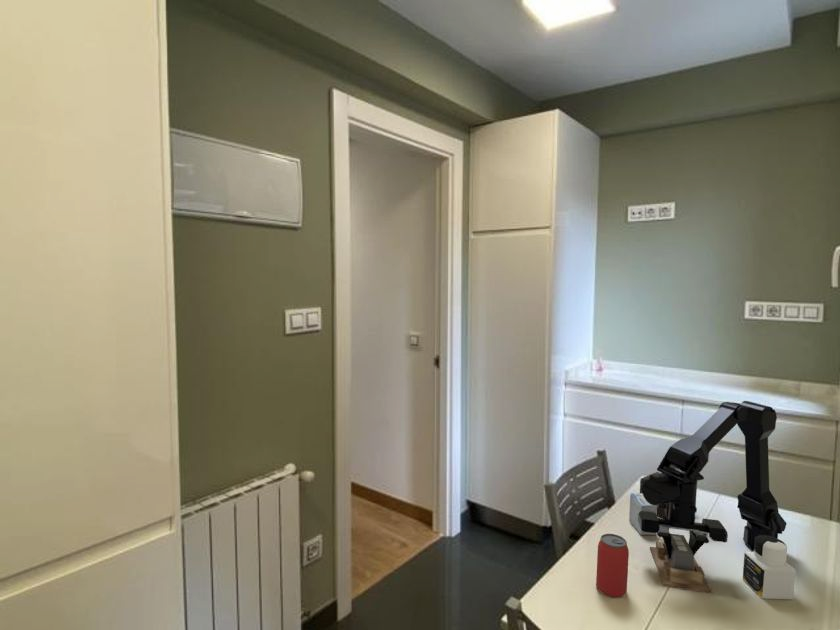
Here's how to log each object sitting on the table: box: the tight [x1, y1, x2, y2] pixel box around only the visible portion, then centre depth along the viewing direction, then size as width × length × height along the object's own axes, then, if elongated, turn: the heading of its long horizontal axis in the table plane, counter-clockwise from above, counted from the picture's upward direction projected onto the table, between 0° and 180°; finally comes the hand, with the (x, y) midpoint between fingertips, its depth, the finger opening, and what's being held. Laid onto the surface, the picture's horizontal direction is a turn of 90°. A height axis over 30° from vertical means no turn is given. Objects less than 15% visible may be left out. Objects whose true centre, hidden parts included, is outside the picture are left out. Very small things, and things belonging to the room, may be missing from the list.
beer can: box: [595, 533, 630, 599], centre depth 113 cm, size 7×7×12 cm
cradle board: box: [649, 539, 712, 594], centre depth 121 cm, size 10×16×3 cm, turn 166°
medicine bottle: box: [742, 535, 797, 600], centre depth 114 cm, size 7×7×12 cm
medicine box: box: [628, 492, 658, 536], centre depth 141 cm, size 8×4×9 cm, turn 179°
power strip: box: [665, 533, 695, 571], centre depth 121 cm, size 4×9×5 cm, turn 166°
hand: (678, 559), depth 121 cm, fingers closed on power strip, 4 cm apart
